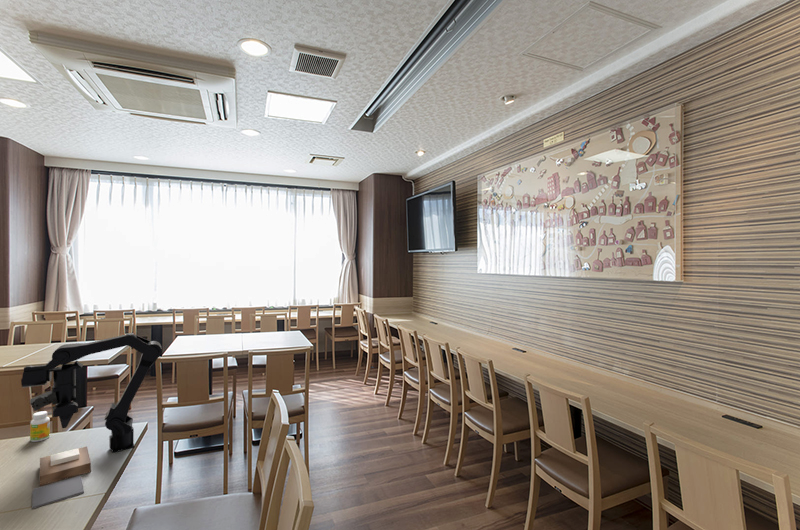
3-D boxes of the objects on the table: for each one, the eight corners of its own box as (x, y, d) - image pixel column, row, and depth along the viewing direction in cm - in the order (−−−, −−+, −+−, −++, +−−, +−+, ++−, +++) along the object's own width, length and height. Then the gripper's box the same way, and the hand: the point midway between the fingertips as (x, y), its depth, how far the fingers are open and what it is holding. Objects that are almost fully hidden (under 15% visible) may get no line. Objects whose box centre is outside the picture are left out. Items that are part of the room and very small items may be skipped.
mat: (81, 476, 121) (81, 475, 121) (83, 492, 113) (83, 491, 113) (32, 490, 113) (32, 488, 113) (31, 509, 105) (31, 507, 105)
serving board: (86, 454, 134) (87, 446, 134) (90, 471, 123) (90, 462, 123) (39, 467, 125) (39, 458, 125) (39, 486, 115) (39, 476, 115)
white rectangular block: (78, 452, 129) (78, 448, 129) (79, 458, 126) (79, 454, 126) (50, 459, 124) (50, 455, 124) (50, 466, 121) (50, 461, 121)
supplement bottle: (27, 443, 141) (27, 417, 141) (33, 437, 145) (33, 411, 145) (46, 440, 143) (47, 414, 143) (51, 434, 148) (52, 409, 148)
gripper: (32, 380, 132) (32, 425, 132) (31, 395, 118) (31, 445, 118) (74, 374, 139) (74, 416, 140) (78, 387, 126) (78, 434, 126)
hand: (64, 427), depth 131 cm, fingers closed
